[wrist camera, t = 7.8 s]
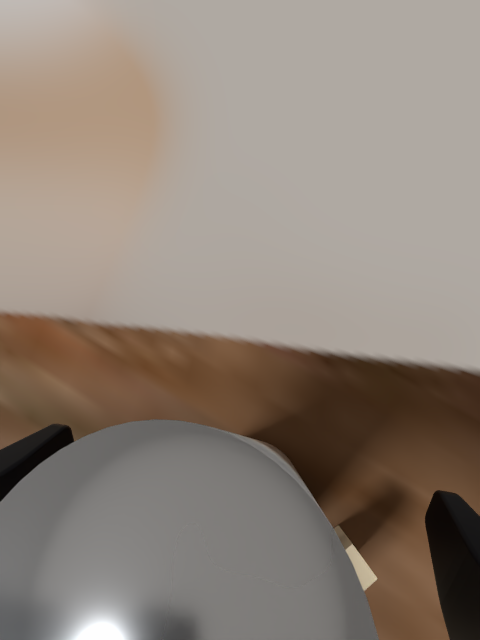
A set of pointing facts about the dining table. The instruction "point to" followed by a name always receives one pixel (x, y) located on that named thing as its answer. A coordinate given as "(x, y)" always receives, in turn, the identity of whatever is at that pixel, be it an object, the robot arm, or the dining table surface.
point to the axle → (173, 544)
